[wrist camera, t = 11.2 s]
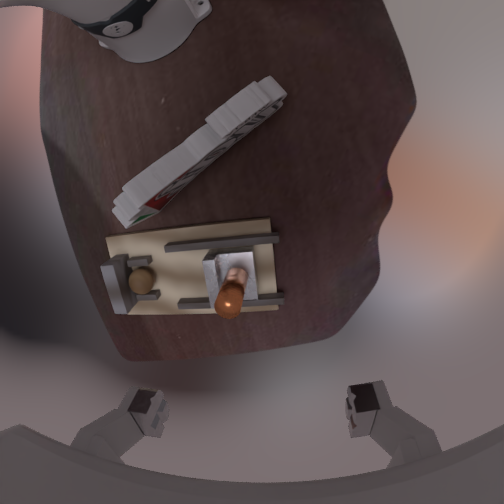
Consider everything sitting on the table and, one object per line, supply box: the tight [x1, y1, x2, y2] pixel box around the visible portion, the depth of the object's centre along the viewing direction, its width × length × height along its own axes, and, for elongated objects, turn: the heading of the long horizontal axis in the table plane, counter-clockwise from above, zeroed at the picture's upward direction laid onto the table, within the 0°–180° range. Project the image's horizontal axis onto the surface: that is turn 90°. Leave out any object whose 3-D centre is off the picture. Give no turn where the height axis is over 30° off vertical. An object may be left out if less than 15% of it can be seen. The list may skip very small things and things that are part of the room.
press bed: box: [100, 217, 284, 314], centre depth 41 cm, size 14×27×6 cm, turn 97°
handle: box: [202, 246, 259, 319], centre depth 36 cm, size 7×6×10 cm
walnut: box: [129, 268, 154, 295], centre depth 41 cm, size 4×4×4 cm
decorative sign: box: [112, 76, 287, 229], centre depth 31 cm, size 23×3×15 cm, turn 130°
